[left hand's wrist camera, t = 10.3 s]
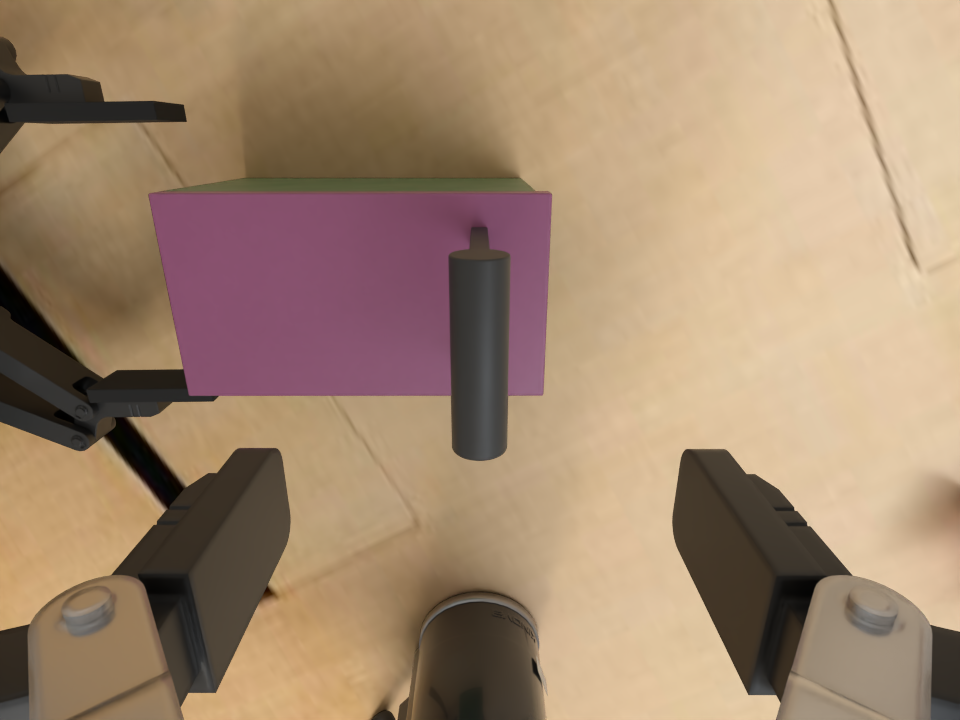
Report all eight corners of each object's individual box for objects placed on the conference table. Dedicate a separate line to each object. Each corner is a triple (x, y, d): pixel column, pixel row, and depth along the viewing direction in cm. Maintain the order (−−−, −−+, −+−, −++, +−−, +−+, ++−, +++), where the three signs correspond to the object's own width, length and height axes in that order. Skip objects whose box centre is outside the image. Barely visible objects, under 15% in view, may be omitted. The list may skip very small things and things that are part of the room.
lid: (549, 191, 24) (585, 217, 16) (541, 387, 28) (567, 492, 19) (160, 191, 24) (-4, 217, 16) (198, 387, 28) (78, 493, 19)
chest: (521, 177, 33) (536, 191, 24) (517, 327, 36) (529, 386, 28) (245, 178, 33) (161, 191, 24) (266, 327, 36) (199, 386, 28)
